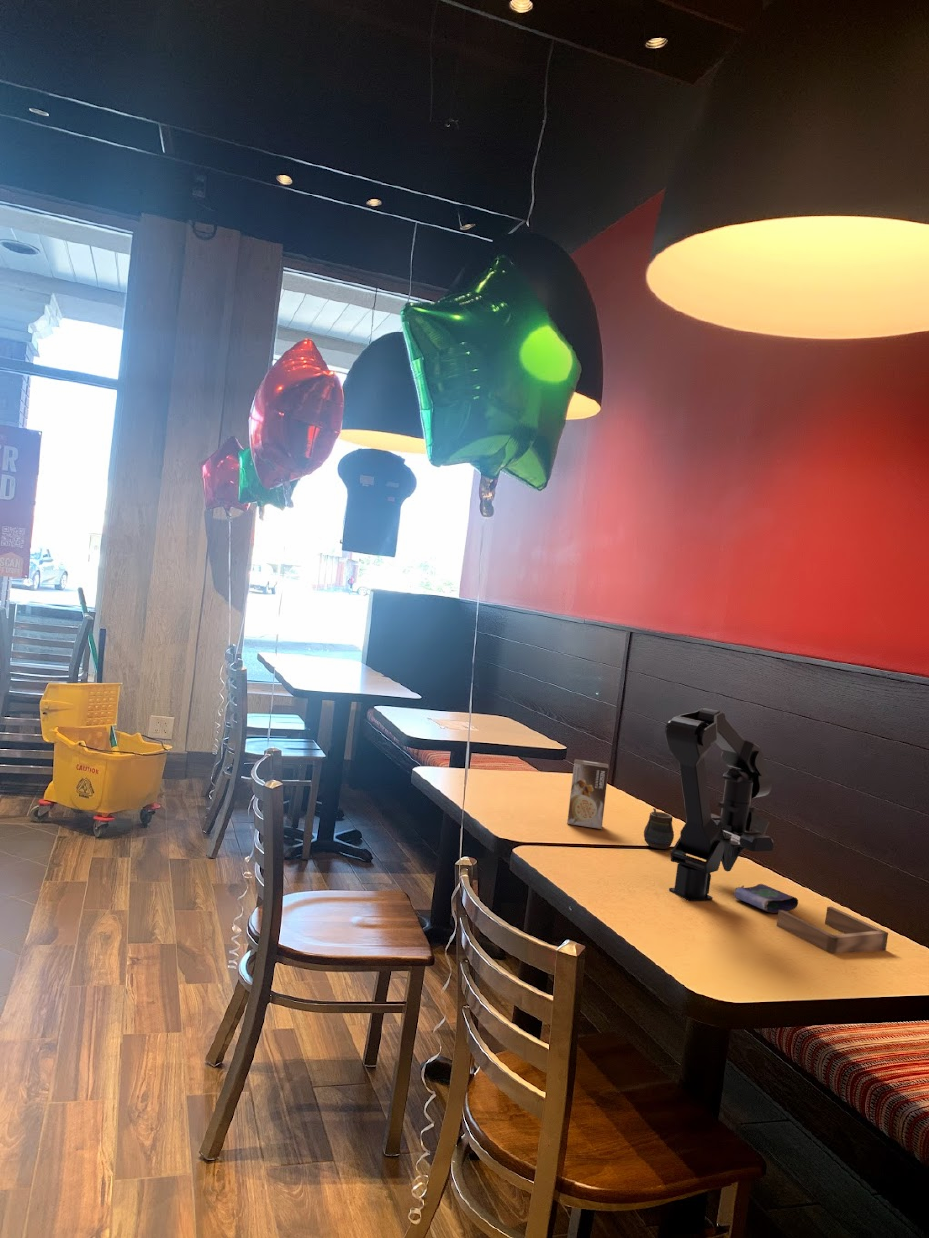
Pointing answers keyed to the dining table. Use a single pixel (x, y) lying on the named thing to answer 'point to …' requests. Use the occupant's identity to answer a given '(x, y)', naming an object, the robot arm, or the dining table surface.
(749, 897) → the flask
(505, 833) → the dining table surface
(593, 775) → the coffee box
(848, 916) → the walnut u-shaped fence
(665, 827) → the mate gourd
